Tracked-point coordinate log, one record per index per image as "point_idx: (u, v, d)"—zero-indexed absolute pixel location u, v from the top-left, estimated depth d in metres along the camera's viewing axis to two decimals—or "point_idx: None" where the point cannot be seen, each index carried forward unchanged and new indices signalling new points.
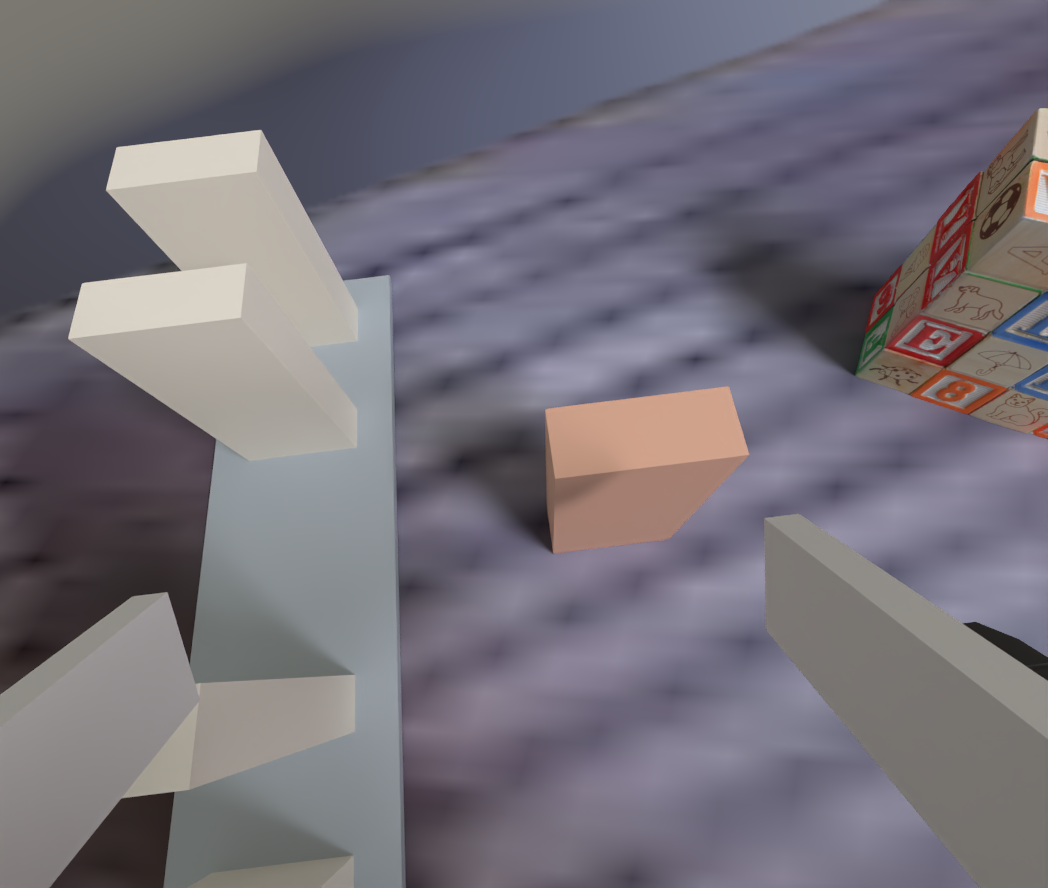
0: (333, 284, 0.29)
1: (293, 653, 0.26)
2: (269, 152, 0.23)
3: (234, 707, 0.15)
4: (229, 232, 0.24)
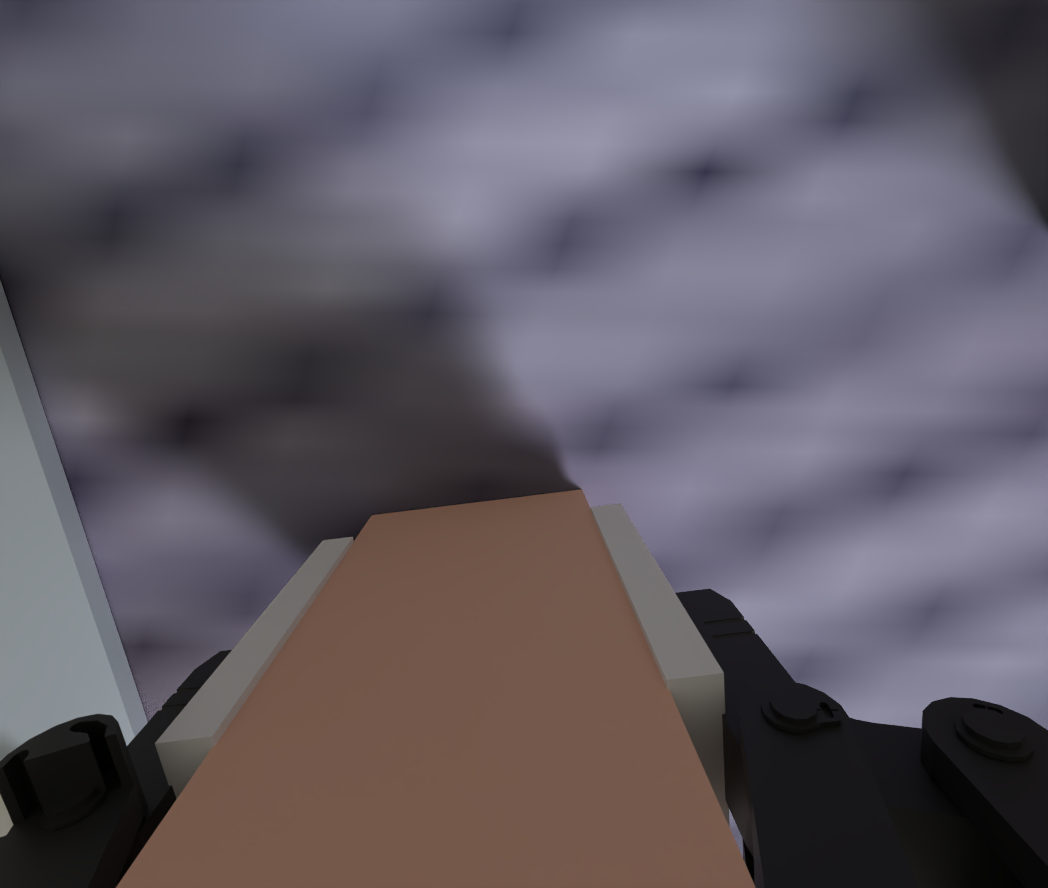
0: None
1: None
2: None
3: None
4: None
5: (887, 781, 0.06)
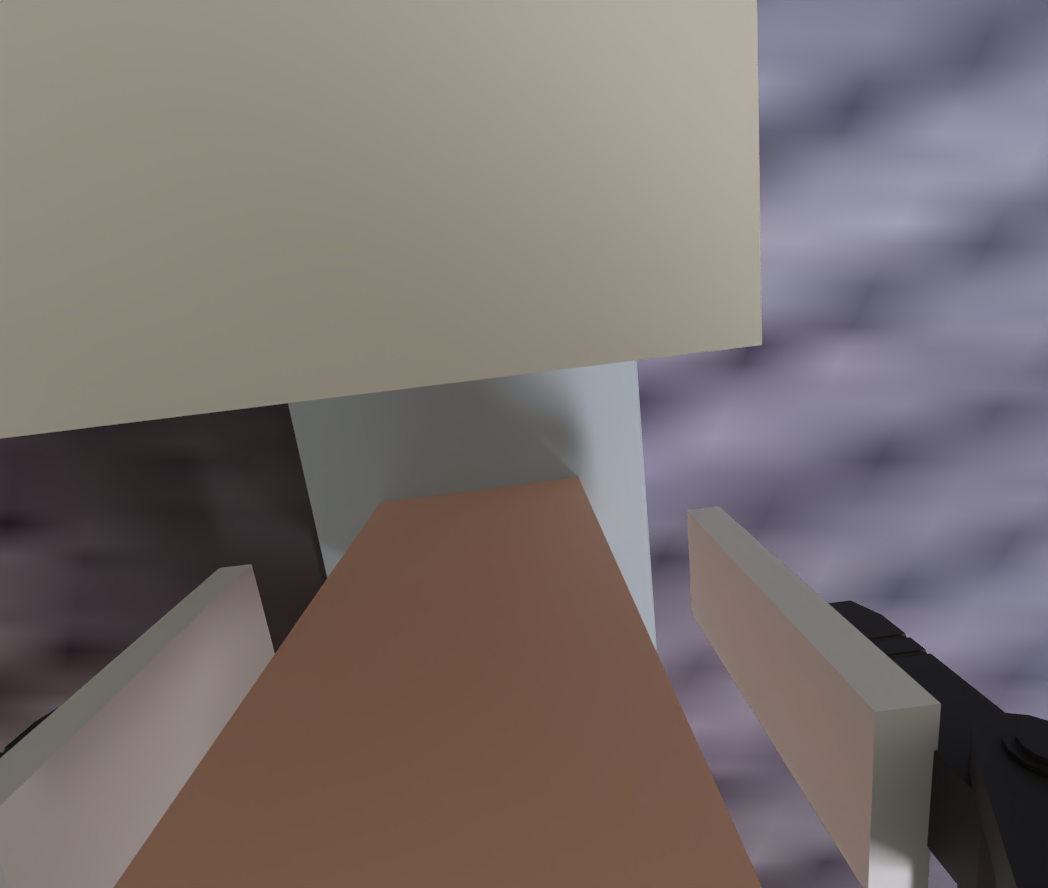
0: None
1: None
2: None
3: None
4: None
5: None
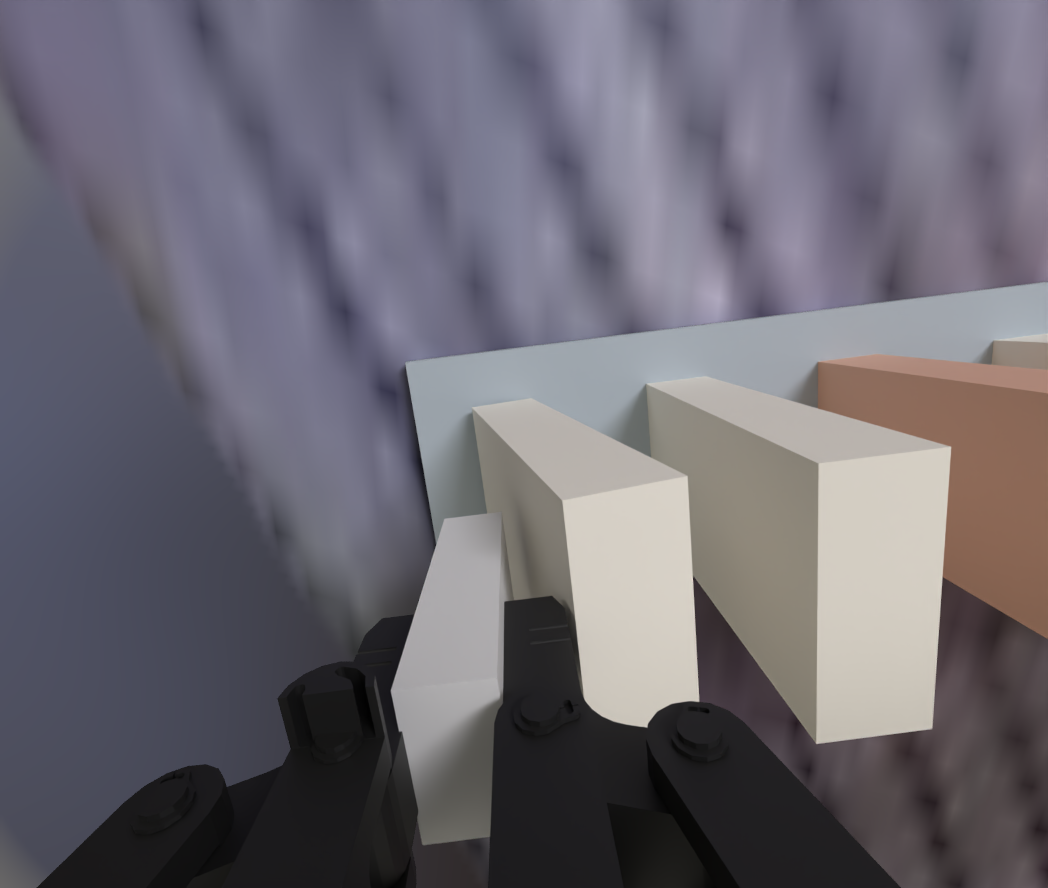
0: (530, 417, 0.17)
1: None
2: (568, 484, 0.10)
3: None
4: None
5: (611, 779, 0.06)
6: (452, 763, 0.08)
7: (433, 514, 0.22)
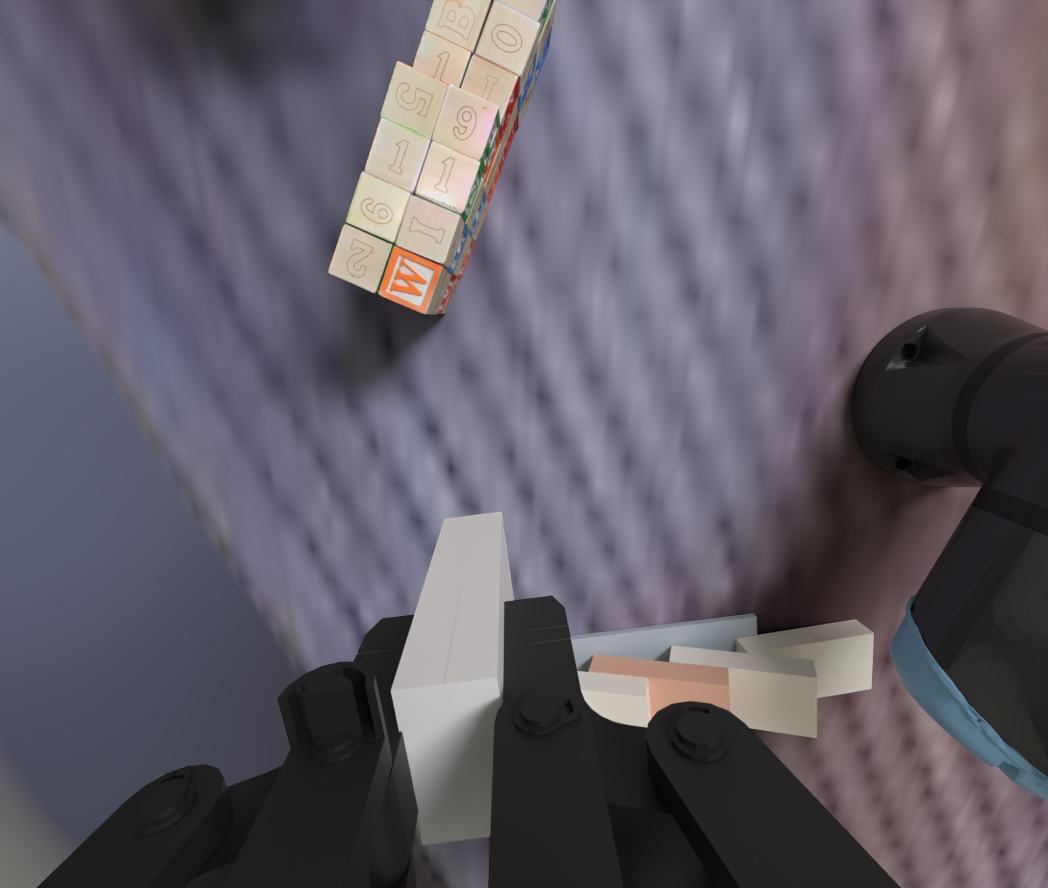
0: None
1: None
2: None
3: (793, 670, 0.46)
4: None
5: (611, 779, 0.06)
6: (453, 763, 0.08)
7: None
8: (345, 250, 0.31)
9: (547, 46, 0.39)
